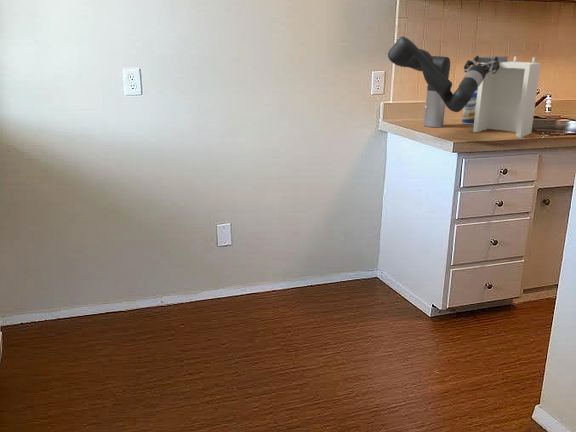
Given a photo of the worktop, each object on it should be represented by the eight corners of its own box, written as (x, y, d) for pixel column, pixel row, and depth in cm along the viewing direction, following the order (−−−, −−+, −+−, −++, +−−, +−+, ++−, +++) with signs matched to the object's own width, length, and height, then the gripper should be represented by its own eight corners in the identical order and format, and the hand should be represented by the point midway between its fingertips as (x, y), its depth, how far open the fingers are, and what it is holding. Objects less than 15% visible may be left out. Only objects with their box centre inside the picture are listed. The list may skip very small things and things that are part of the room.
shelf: (473, 131, 292) (481, 55, 282) (485, 127, 304) (493, 55, 294) (520, 137, 279) (530, 58, 269) (531, 133, 292) (541, 57, 281)
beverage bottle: (480, 123, 317) (485, 83, 311) (475, 125, 310) (480, 84, 305) (464, 122, 322) (468, 82, 316) (459, 123, 315) (463, 83, 309)
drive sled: (477, 62, 274) (478, 57, 274) (496, 60, 293) (497, 56, 292) (488, 63, 272) (489, 57, 271) (507, 61, 290) (507, 56, 289)
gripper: (458, 84, 274) (472, 64, 282) (490, 86, 266) (504, 66, 274) (457, 69, 269) (471, 49, 278) (489, 71, 261) (503, 51, 269)
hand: (487, 57), depth 276 cm, fingers open, 8 cm apart
